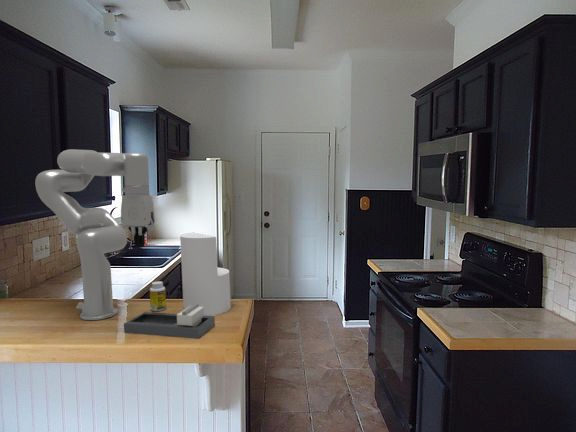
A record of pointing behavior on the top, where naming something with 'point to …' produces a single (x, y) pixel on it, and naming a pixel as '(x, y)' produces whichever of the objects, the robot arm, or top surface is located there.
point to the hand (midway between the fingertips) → (139, 246)
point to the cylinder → (203, 275)
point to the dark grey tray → (166, 325)
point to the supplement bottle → (157, 296)
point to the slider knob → (191, 316)
